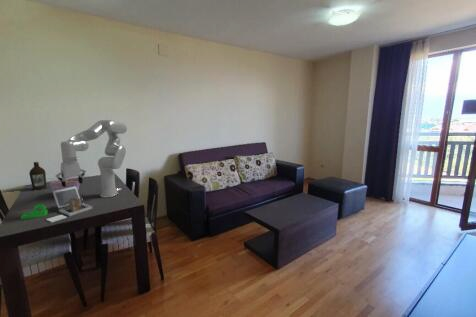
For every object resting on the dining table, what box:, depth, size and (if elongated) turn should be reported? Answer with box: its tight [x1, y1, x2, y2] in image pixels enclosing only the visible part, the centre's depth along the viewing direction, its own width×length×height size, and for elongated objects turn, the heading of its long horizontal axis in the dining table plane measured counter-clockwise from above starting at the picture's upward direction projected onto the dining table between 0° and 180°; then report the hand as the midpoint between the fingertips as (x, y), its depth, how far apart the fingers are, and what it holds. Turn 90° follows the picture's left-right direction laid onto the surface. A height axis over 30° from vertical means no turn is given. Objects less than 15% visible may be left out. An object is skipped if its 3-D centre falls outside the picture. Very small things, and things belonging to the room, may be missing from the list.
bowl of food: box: [49, 178, 81, 192], centre depth 184 cm, size 20×20×12 cm
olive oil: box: [29, 161, 48, 191], centre depth 198 cm, size 11×11×25 cm
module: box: [68, 197, 83, 212], centre depth 153 cm, size 5×5×9 cm
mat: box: [45, 214, 68, 224], centre depth 140 cm, size 8×7×1 cm
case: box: [52, 186, 93, 217], centre depth 154 cm, size 15×20×14 cm
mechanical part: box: [20, 203, 49, 220], centre depth 145 cm, size 12×6×8 cm, turn 118°
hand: (72, 184), depth 151 cm, fingers open, 9 cm apart
